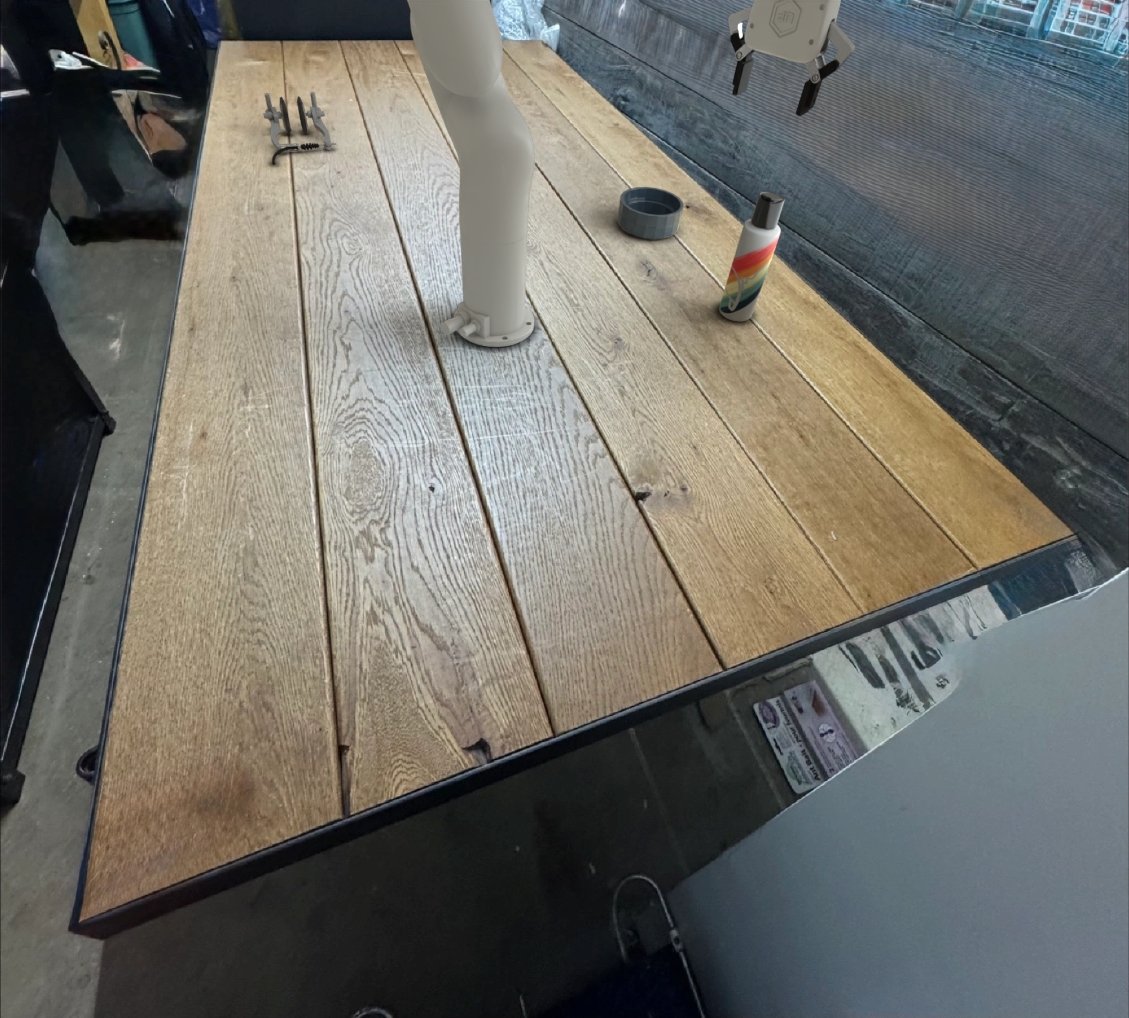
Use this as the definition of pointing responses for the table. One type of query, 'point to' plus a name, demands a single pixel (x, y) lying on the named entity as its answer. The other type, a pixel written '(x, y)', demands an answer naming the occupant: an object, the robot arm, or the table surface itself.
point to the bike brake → (275, 127)
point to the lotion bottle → (752, 258)
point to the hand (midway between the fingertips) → (770, 102)
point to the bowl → (649, 212)
